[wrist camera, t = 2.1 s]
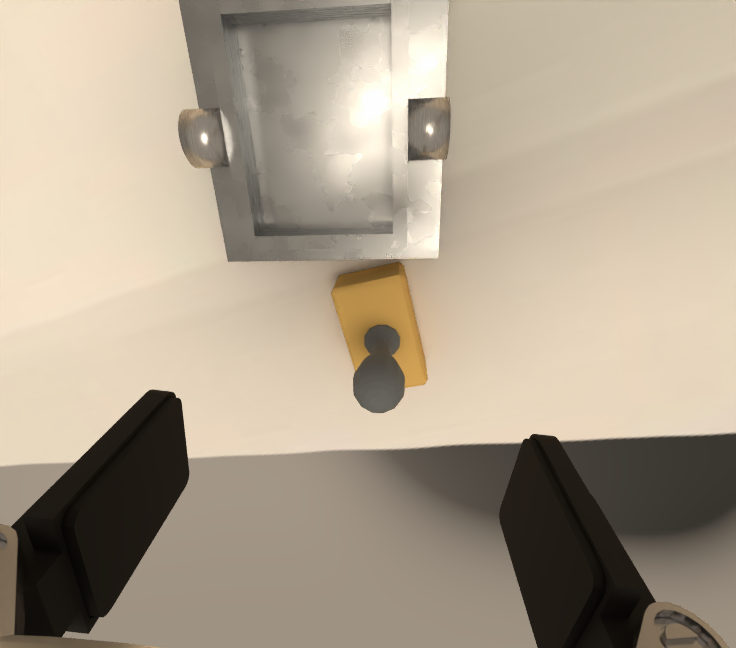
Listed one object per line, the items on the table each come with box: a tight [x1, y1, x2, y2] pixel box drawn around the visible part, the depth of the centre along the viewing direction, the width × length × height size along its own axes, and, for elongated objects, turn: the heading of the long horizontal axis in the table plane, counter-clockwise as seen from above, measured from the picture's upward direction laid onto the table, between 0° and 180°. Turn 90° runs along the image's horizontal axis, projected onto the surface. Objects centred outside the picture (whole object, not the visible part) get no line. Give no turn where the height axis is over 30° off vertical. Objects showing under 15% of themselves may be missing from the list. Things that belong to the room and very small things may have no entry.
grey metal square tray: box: [178, 0, 450, 262], centre depth 26 cm, size 17×18×5 cm
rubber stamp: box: [331, 262, 428, 413], centre depth 29 cm, size 10×6×12 cm, turn 15°
